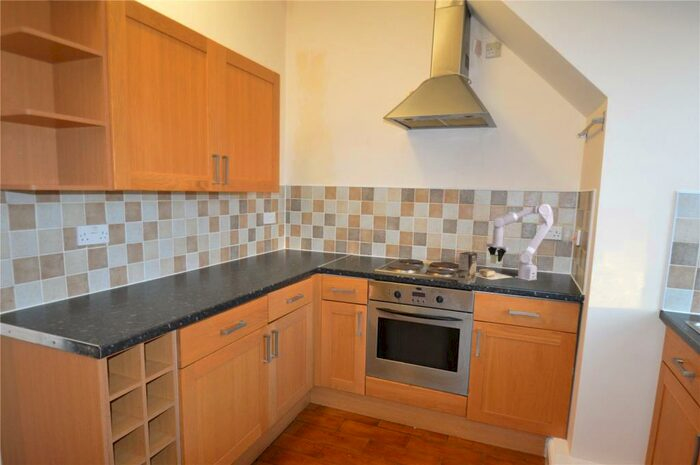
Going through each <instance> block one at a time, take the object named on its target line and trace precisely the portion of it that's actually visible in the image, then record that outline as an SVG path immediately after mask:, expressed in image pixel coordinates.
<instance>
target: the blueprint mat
mask: <svg viewBox="0 0 700 465" xmlns="http://www.w3.org/2000/svg"><path fill="white" fill-rule="evenodd" d="M476 277H479V278H482V279H486V280H490V281H492V280H500V279H508V278H512V276H510V275H507V274H502V273H499V272H495V274H494V277H491V278H485V277H482V276H479V272H476Z"/></svg>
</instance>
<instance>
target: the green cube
mask: <svg viewBox="0 0 700 465" xmlns="http://www.w3.org/2000/svg"><path fill="white" fill-rule="evenodd" d="M489 263H492V264H496V265H497V264H502V263H503V260H502V261H500V262H498V254H495V255H491V256H490V262H489Z"/></svg>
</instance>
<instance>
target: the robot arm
mask: <svg viewBox="0 0 700 465" xmlns="http://www.w3.org/2000/svg"><path fill="white" fill-rule="evenodd" d="M532 214H534V215H537V214H538V215H540V217H541V219H542V224H541V226H540V228H538V230H537V232H536V233H535V235H534V236H533V238H532V240H531V241H530V243H529V244H528V246H527V247H526V249H525V250H523V252H522V253H521V254H520V255H519V261H518V270H517V271H518V272H517V275H515V276H514V278H516V279H517V278H518V279H521V280H523V281H524V280H525V281H536V280H537V275H538V266H536V265H535V264H533V263H534V262H533V261H532V260H533V258H534V253H536V251H537V249H538V247H539V246H540V245H541V243H542V241H543V240H544V238H545V237H546V235H547V234H548V232H549V231H550V229H551V227H553V225H554V210H553V208H552V207H551V205H550V204H548V203H542V204H539V205H535V206H531V207H529V208H526V209H524V210H521V211H519V212H514V211H513V212H512V211H510V212H508V213H507V214H504V215H500V216H499V217H496V218H495V219H494V220H493V221H492V223H493V231H492V241H491V242H492V243H486V245H485V246H486V247H487V250H488V253H489V256H490V257H491V255H496V252H497V255H498V262H500V261H502V262H503V258H504V255H505V254H506V253H507V251H509V246H506V245H503V244H504V233H505V232H504V229H505V227H504V226H509V225H511V224H513V223H516V222H517V221H518V219H520V218H522V217H526V216H529V215H532Z"/></svg>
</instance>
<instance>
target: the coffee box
mask: <svg viewBox="0 0 700 465" xmlns="http://www.w3.org/2000/svg"><path fill="white" fill-rule="evenodd" d="M477 260H478V253H477V252H471V251H465V252H460V253H459V260H458V274H457V283H458V284H464V285H467V286H468V285H471V284H473V283H474V282H476V277H477V276H476V273H477Z"/></svg>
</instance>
